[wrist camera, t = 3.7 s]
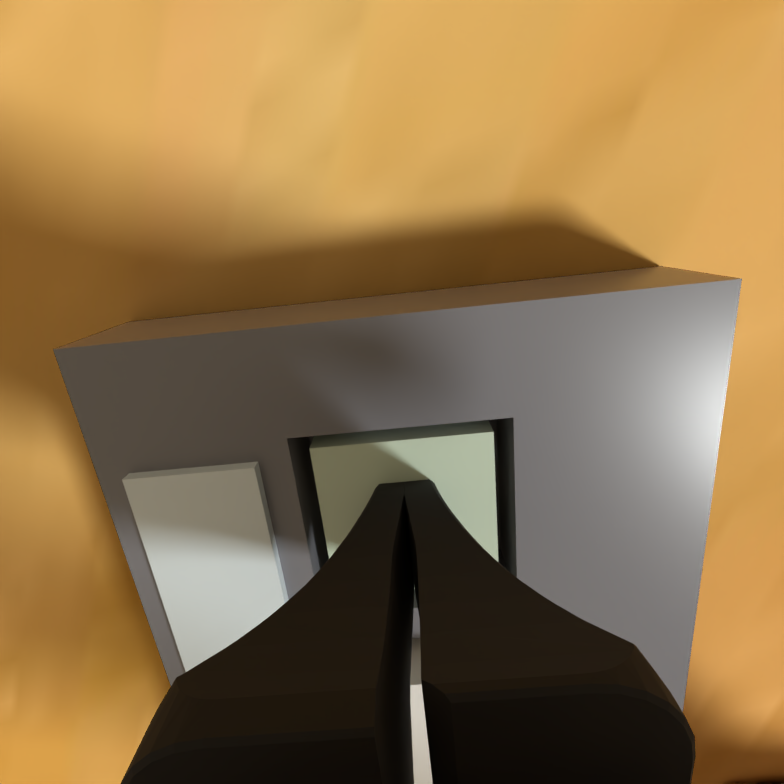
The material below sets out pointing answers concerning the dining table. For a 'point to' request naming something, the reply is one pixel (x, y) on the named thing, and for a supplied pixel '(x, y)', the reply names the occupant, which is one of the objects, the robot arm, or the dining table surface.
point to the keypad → (411, 409)
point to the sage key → (408, 474)
